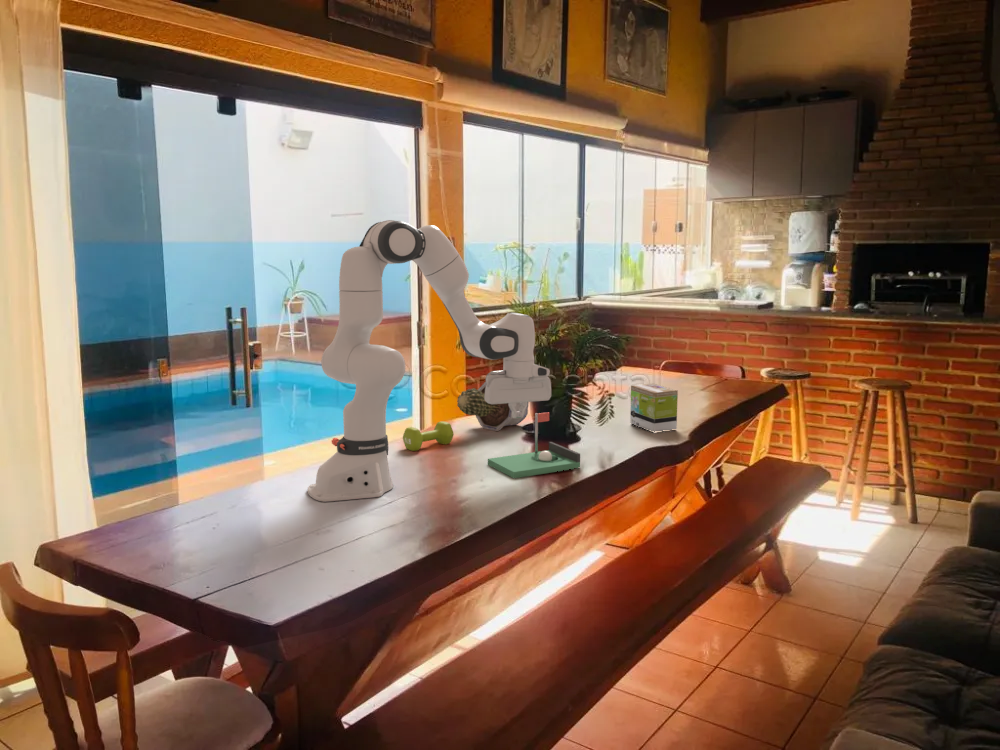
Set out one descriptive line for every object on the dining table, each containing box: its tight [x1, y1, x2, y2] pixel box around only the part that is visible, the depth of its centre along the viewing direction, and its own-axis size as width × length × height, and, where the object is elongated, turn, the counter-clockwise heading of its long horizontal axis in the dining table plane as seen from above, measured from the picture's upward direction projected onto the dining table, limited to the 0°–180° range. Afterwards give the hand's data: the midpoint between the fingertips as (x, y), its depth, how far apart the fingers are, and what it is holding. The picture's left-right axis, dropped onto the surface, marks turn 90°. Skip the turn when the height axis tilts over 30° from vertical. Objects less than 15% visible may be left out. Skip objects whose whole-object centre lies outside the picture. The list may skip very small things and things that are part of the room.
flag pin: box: [534, 412, 550, 453], centre depth 245 cm, size 5×1×14 cm, turn 118°
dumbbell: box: [402, 420, 454, 452], centre depth 260 cm, size 16×8×7 cm, turn 131°
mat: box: [487, 441, 581, 479], centre depth 236 cm, size 22×16×4 cm
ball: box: [539, 450, 552, 461], centre depth 238 cm, size 4×4×4 cm
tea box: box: [629, 382, 679, 432], centre depth 284 cm, size 15×10×15 cm, turn 25°
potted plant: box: [456, 381, 530, 432], centre depth 282 cm, size 18×18×30 cm
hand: (517, 417), depth 232 cm, fingers closed
